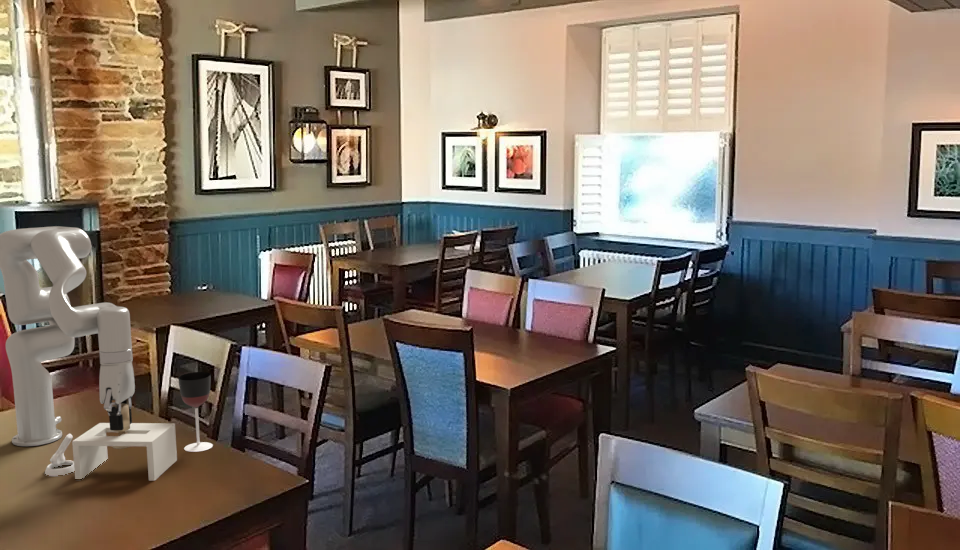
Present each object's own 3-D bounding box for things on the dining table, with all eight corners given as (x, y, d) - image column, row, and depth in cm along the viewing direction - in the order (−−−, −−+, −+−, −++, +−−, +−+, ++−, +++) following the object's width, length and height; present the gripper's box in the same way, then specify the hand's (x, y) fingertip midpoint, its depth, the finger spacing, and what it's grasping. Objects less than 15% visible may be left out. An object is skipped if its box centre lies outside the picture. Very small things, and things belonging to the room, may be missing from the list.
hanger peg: (117, 442, 217) (115, 403, 215) (136, 442, 216) (133, 403, 215) (109, 448, 212) (106, 408, 210) (127, 448, 212) (124, 408, 210)
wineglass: (220, 443, 234) (216, 373, 231) (200, 453, 226) (196, 381, 223) (196, 440, 237) (192, 371, 234) (176, 450, 229) (171, 379, 226)
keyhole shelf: (75, 479, 209) (72, 441, 207) (102, 459, 222) (99, 422, 221) (154, 480, 208) (152, 441, 206) (177, 460, 222) (174, 423, 220)
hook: (86, 456, 210) (59, 443, 208) (63, 491, 213) (37, 478, 211) (96, 440, 217) (70, 427, 215) (74, 474, 220) (48, 462, 218)
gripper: (117, 348, 219) (121, 416, 222) (84, 364, 203) (90, 437, 205) (145, 348, 219) (149, 416, 222) (115, 364, 202) (120, 438, 205)
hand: (121, 426), depth 213 cm, fingers closed on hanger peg, 4 cm apart
